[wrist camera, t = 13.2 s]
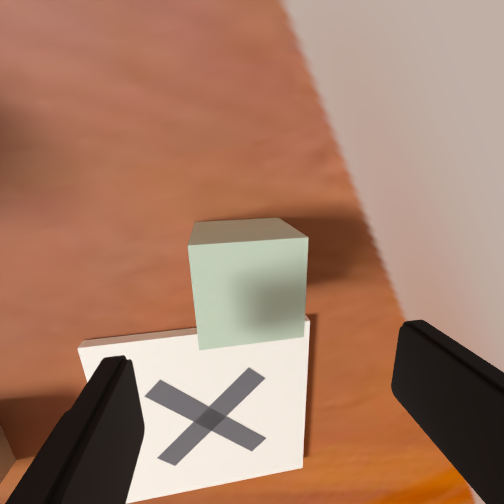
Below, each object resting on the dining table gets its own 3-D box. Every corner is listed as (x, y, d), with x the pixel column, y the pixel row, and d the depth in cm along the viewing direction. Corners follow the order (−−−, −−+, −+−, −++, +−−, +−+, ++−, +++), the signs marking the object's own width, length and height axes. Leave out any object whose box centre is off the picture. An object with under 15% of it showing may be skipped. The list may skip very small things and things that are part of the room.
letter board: (83, 340, 17) (77, 348, 16) (306, 315, 19) (310, 321, 19) (125, 492, 22) (122, 504, 21) (299, 458, 24) (302, 468, 23)
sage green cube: (194, 221, 16) (187, 245, 11) (278, 217, 17) (308, 237, 12) (202, 298, 18) (199, 350, 13) (277, 290, 18) (303, 337, 13)
